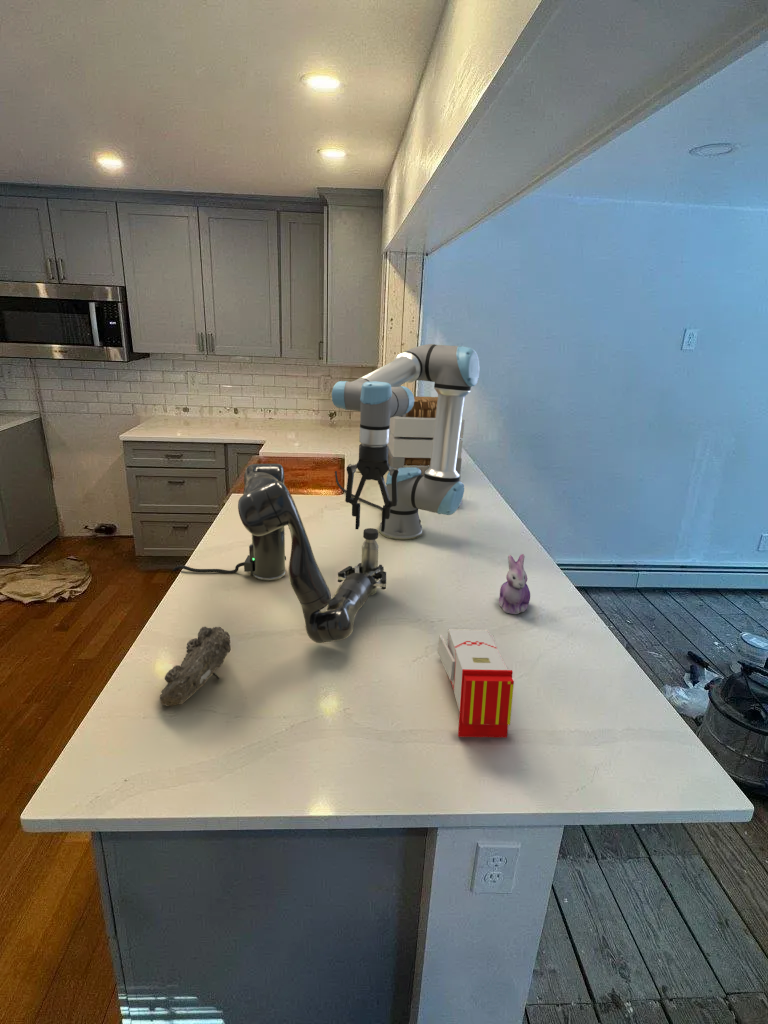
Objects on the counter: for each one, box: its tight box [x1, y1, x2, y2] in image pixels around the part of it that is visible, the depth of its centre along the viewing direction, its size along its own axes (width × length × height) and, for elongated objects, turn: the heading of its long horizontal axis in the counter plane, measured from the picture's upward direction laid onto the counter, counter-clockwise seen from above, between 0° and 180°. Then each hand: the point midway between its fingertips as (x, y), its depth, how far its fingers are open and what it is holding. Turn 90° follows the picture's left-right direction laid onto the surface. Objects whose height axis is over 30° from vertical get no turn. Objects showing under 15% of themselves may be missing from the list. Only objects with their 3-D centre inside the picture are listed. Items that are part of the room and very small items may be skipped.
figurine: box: [498, 553, 531, 615], centre depth 151 cm, size 9×10×15 cm
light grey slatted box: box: [387, 395, 465, 482], centre depth 268 cm, size 34×33×41 cm
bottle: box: [360, 538, 379, 596], centre depth 156 cm, size 4×4×18 cm
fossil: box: [159, 626, 232, 707], centre depth 118 cm, size 22×10×15 cm
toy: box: [437, 628, 515, 738], centre depth 117 cm, size 12×13×30 cm
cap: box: [362, 527, 379, 541], centre depth 153 cm, size 4×4×2 cm
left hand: (372, 566), depth 159 cm, fingers closed on bottle, 4 cm apart
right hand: (370, 528), depth 152 cm, fingers open, 6 cm apart
